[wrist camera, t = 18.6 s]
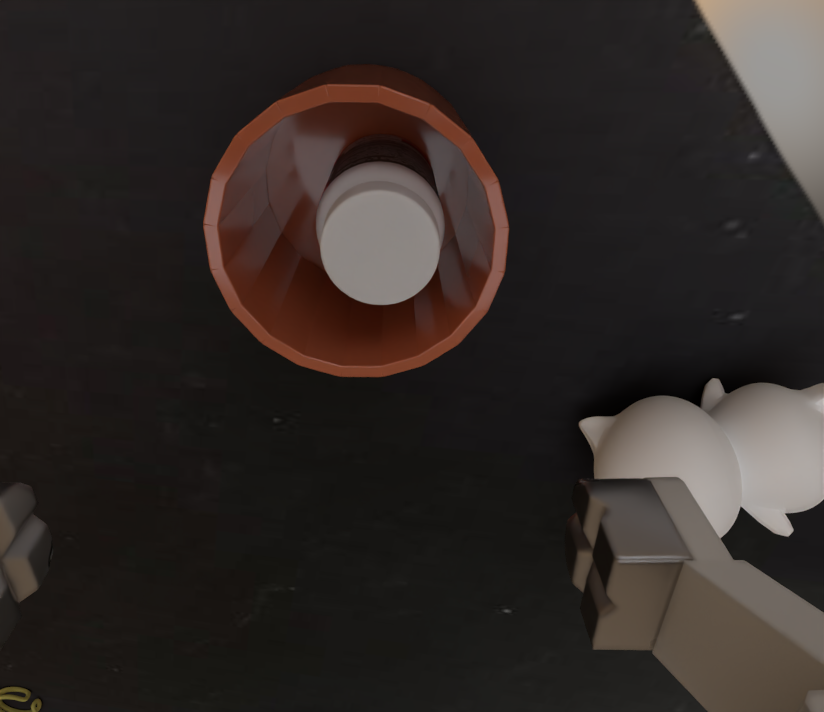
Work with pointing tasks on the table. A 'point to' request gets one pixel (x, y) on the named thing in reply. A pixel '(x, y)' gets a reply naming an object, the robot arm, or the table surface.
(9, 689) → the ring
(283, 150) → the cup
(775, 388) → the cat figurine
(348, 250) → the pill bottle
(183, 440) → the table surface
